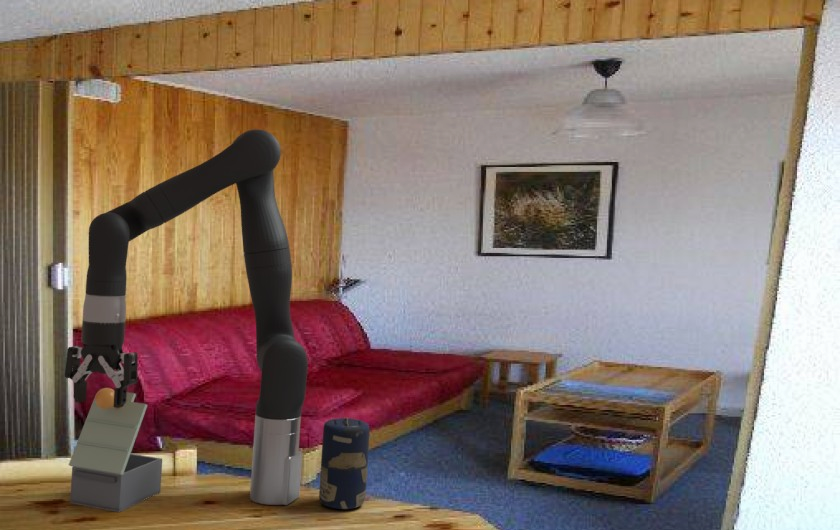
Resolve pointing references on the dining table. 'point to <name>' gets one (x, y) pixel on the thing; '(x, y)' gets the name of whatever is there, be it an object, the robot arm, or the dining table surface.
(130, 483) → the parts tub
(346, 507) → the canister
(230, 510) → the dining table surface
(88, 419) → the lid
